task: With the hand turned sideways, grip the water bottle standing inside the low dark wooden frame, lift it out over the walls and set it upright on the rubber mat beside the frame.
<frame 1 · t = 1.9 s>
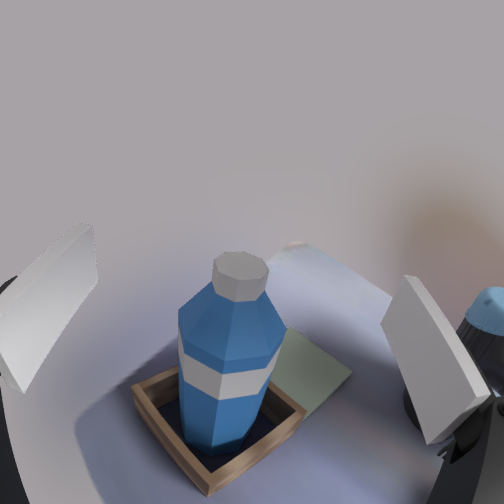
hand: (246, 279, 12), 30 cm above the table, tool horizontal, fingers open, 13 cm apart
mat: (294, 372, 45), on the table
water bottle: (215, 426, 34), resting in wooden frame
wooden frame: (215, 426, 34), on the table
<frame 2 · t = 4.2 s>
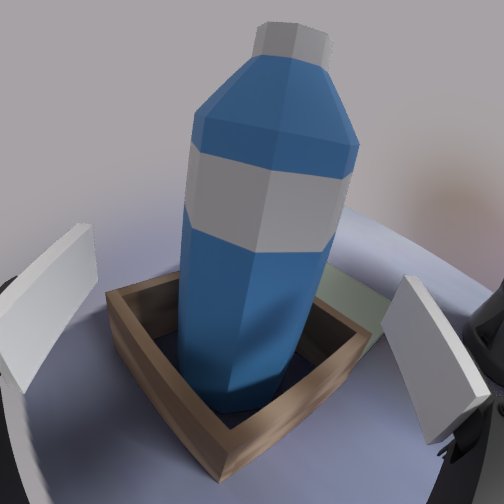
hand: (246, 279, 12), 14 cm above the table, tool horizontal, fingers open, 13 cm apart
mat: (332, 306, 35), on the table
water bottle: (230, 371, 24), resting in wooden frame
wooden frame: (230, 369, 24), on the table
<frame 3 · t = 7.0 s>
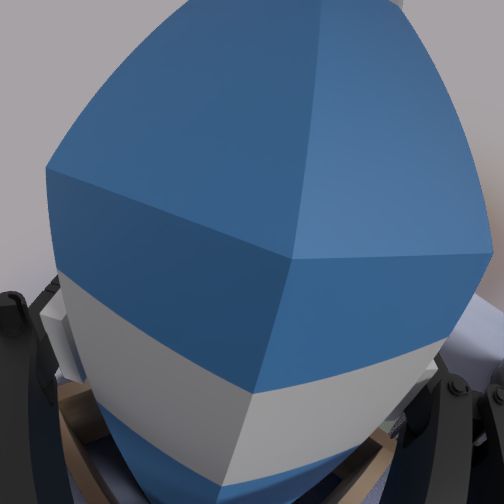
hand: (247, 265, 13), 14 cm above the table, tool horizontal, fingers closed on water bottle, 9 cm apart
water bottle: (212, 478, 15), resting in wooden frame, touching gripper
wooden frame: (212, 477, 15), on the table
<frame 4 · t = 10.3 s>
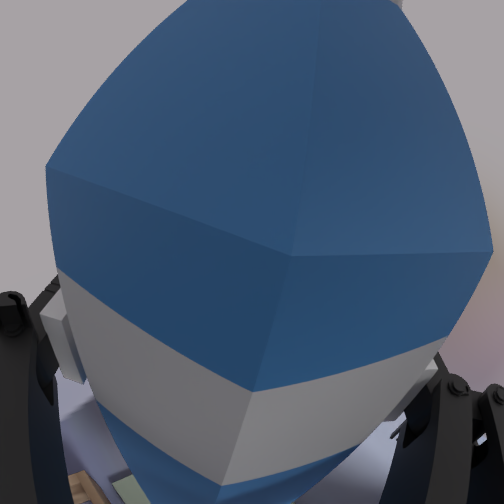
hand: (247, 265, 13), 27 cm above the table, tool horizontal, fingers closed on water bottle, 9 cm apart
water bottle: (212, 477, 15), point 13 cm above the table, touching gripper
when the fingers open (16 cm above the table, at t = 13.9 s): water bottle stays where it is, resting on mat.
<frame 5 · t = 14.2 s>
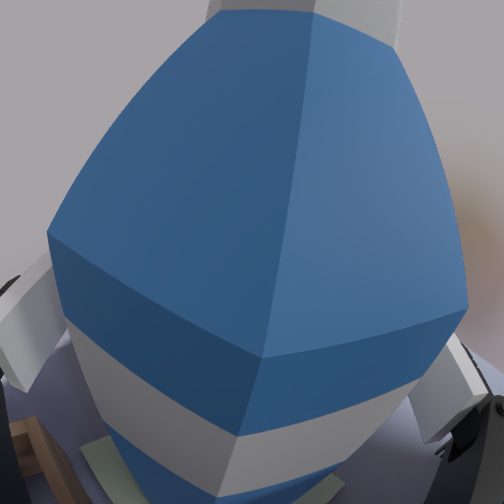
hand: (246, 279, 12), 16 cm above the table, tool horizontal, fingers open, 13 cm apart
mat: (210, 484, 16), on the table
water bottle: (211, 481, 16), point 1 cm above the table, touching mat
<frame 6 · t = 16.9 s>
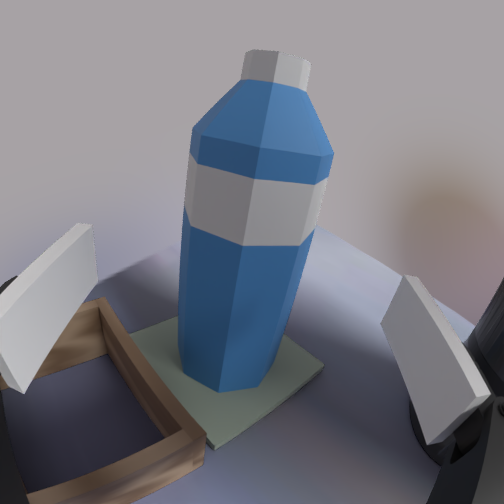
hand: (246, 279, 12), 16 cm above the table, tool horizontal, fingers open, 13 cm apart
mat: (224, 360, 28), on the table
water bottle: (225, 355, 27), point 1 cm above the table, touching mat
wooden frame: (73, 430, 17), on the table
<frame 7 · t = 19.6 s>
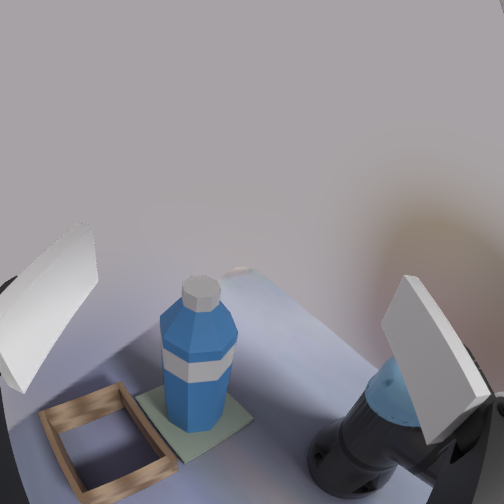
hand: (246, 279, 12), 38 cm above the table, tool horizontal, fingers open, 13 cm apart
mat: (193, 412, 43), on the table
water bottle: (193, 410, 43), point 1 cm above the table, touching mat
wooden frame: (109, 453, 33), on the table
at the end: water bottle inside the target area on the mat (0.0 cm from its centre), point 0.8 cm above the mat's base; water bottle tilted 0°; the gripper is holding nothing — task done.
